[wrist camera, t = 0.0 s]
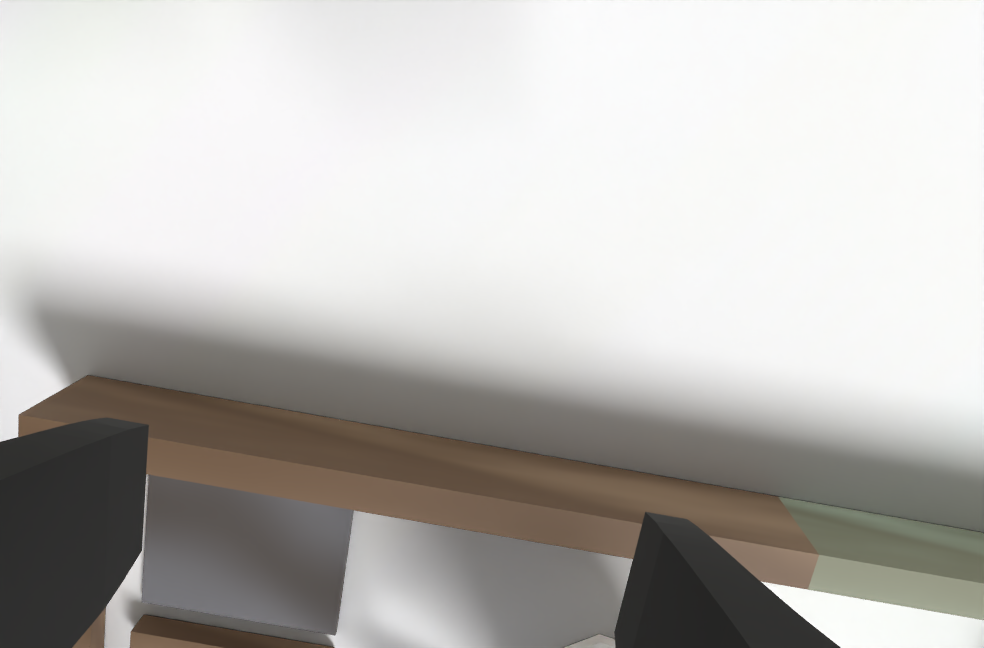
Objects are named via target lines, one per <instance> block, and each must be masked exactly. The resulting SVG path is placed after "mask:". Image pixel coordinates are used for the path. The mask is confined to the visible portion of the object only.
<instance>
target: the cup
mask: <svg viewBox="0 0 984 648" xmlns="http://www.w3.org/2000/svg"><path fill="white" fill-rule="evenodd" d="M564 648H615V639H612V638H609V637H606V636H603V635H600V634H598V635H596V636H593V637H591V638H588V639H585V640H583V641H580V642H577V643H575V644H572V645H569V646H567V647H564Z"/></svg>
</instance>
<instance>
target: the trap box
mask: <svg viewBox="0 0 984 648" xmlns="http://www.w3.org/2000/svg"><path fill="white" fill-rule="evenodd" d="M106 417H108V418H113V419H119V420H125V421H130V422H136V423H142V424H147V425H149V433H148V450H147V468H146V474H149V486H148V503H147V520H146V537H145V554H144V571H143V588H142V602H144V603H150V604H156V605H161V606H167V607H173V608H179V609H185V610H190V611H196V612H202V613H208V614H214V615H219V616H225V617H231V618H237V619H243V620H248V621H254V622H260V623H266V624H272V625H278V626H283V627H289V628H295V629H301V630H307V631H312V632H318V633H324V634H330V635H336V632H337V626H338V619H339V611H340V604H341V597H342V590H343V583H344V576H345V569H346V561H347V554H348V547H349V540H350V533H351V526H352V519H353V511H354V510H355V511H361V512H367V513H372V514H378V515H384V516H390V517H395V518H401V519H407V520H412V521H418V522H424V523H430V524H435V525H441V526H447V527H453V528H458V529H464V530H470V531H476V532H481V533H487V534H493V535H498V536H504V537H510V538H516V539H521V540H527V541H533V542H539V543H544V544H550V545H556V546H562V547H567V548H573V549H579V550H584V551H590V552H596V553H602V554H607V555H613V556H619V557H625V558H630V559H633V558H634V554H635V550H636V546H637V542H638V538H639V534H640V530H641V527H642V523H643V519H644V515H645V512H650V513H655V514H661V515H667V516H673V517H678V518H684V519H688V520H689V521H691V522H692V523H694V524H695V525H696V526H698V527H699V528H700V529H701V530H703V531H704V532H705V533H706V534H707V535H709V536H710V537H711V538H712V539H713V540H714V541H716V542H717V543H718V544H719V545H720V546H721V547H722V548H723V549H725V550H726V551H727V552H728V553H729V554H730V555H731V556H732V557H734V558H735V559H736V560H737V561H738V562H739V563H740V564H741V565H742V566H744V567H745V568H746V569H747V570H748V571H749V572H750V573H751V574H753V575H754V576H755V577H756V578H757V579H758V580H759V581H762V582H768V583H774V584H779V585H785V586H791V587H797V588H802V589H808V590H814V591H820V592H825V593H831V594H837V595H843V596H848V597H854V598H860V599H865V600H871V601H877V602H883V603H888V604H894V605H900V606H906V607H911V608H917V609H923V610H929V611H934V612H940V613H946V614H951V615H957V616H963V617H969V618H974V619H980V620H984V533H982V532H977V531H971V530H965V529H960V528H954V527H948V526H943V525H937V524H931V523H925V522H920V521H914V520H908V519H903V518H897V517H891V516H886V515H880V514H874V513H869V512H863V511H857V510H852V509H846V508H840V507H834V506H829V505H823V504H817V503H812V502H806V501H800V500H795V499H789V498H783V497H778V496H772V495H766V494H761V493H755V492H749V491H743V490H738V489H732V488H726V487H721V486H715V485H709V484H704V483H698V482H692V481H687V480H681V479H675V478H670V477H664V476H658V475H653V474H647V473H641V472H635V471H630V470H624V469H618V468H613V467H607V466H601V465H596V464H590V463H584V462H579V461H573V460H567V459H562V458H556V457H550V456H544V455H539V454H533V453H527V452H522V451H516V450H510V449H505V448H499V447H493V446H488V445H482V444H476V443H471V442H465V441H459V440H453V439H448V438H442V437H436V436H431V435H425V434H419V433H414V432H408V431H402V430H397V429H391V428H385V427H380V426H374V425H368V424H363V423H357V422H351V421H345V420H340V419H334V418H328V417H323V416H317V415H311V414H306V413H300V412H294V411H289V410H283V409H277V408H272V407H266V406H260V405H254V404H249V403H243V402H237V401H232V400H226V399H220V398H215V397H209V396H203V395H198V394H192V393H186V392H181V391H175V390H169V389H164V388H158V387H152V386H146V385H141V384H135V383H129V382H124V381H118V380H112V379H107V378H101V377H95V376H90V375H87V376H85V377H84V378H82V379H80V380H78V381H77V382H75V383H73V384H71V385H70V386H68V387H66V388H64V389H63V390H61V391H59V392H57V393H56V394H54V395H52V396H50V397H49V398H47V399H45V400H43V401H42V402H40V403H38V404H36V405H35V406H33V407H31V408H29V409H28V410H26V411H24V412H22V413H21V414H19V432H18V437H21V436H25V435H28V434H32V433H36V432H40V431H44V430H47V429H51V428H55V427H59V426H63V425H67V424H72V423H76V422H81V421H86V420H91V419H98V418H106ZM105 611H106V607H105V609H104V610H103V611H102V613H101V614H100V615H99V616H98V617H97V619H96V620H95V621H94V622H93V624H92V625H91V626H90V627H89V628H88V629H87V631H86V632H85V633H84V634H83V635H82V637H81V638H80V639H79V640H78V641H77V642H76V644H75V645H74V646H73V647H72V648H104V633H105ZM130 648H334V647H329V646H323V645H318V644H312V643H306V642H300V641H294V640H289V639H283V638H277V637H271V636H265V635H260V634H254V633H248V632H242V631H236V630H230V629H225V628H219V627H213V626H207V625H201V624H196V623H190V622H184V621H178V620H172V619H167V618H161V617H155V616H149V615H143V616H142V618H141V619H140V620H139V622H138V623H137V624H136V625H135V627H134V628H133V629H132V631H131V638H130Z"/></svg>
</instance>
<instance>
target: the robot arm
mask: <svg viewBox="0 0 984 648" xmlns="http://www.w3.org/2000/svg"><path fill="white" fill-rule="evenodd" d="M148 433H149V425H147V424H142V423H136V422H130V421H125V420H119V419H113V418H108V417H106V418H98V419H91V420H86V421H81V422H76V423H72V424H67V425H63V426H59V427H55V428H51V429H47V430H44V431H40V432H36V433H32V434H28V435H25V436H21V437H17V438H14V439H10V440H6V441H2V442H0V648H72V647H73V646H74V645H75V644H76V642H77V641H78V640H79V639H80V638H81V637H82V635H83V634H84V633H85V632H86V631H87V629H88V628H89V627H90V626H91V625H92V624H93V622H94V621H95V620H96V619H97V617H98V616H99V615H100V614H101V613H102V611H103V610H104V609H105V607H106V606H107V604H108V603H109V601H110V600H111V598H112V597H113V595H114V594H115V592H116V591H117V589H118V588H119V586H120V585H121V583H122V582H123V580H124V578H125V577H126V575H127V574H128V572H129V570H130V569H131V567H132V566H133V564H134V562H135V561H136V559H137V557H138V556H139V554H140V553H141V551H142V537H143V520H144V502H145V485H146V468H147V450H148ZM614 633H615V648H840V647H839V646H838V645H837V644H835V643H834V642H833V641H831V640H830V639H829V638H828V637H826V636H825V635H824V634H823V633H821V632H820V631H819V630H818V629H816V628H815V627H814V626H812V625H811V624H810V623H809V622H807V621H806V620H805V619H804V618H803V617H801V616H800V615H799V614H798V613H797V612H795V611H794V610H793V609H792V608H791V607H789V606H788V605H787V604H786V603H785V602H783V601H782V600H781V599H780V598H779V597H778V596H776V595H775V594H774V593H773V592H772V591H771V590H770V589H768V588H767V587H766V586H765V585H764V584H763V583H762V582H760V581H759V580H758V579H757V578H756V577H755V576H754V575H753V574H751V573H750V572H749V571H748V570H747V569H746V568H745V567H744V566H742V565H741V564H740V563H739V562H738V561H737V560H736V559H735V558H734V557H732V556H731V555H730V554H729V553H728V552H727V551H726V550H725V549H723V548H722V547H721V546H720V545H719V544H718V543H717V542H716V541H714V540H713V539H712V538H711V537H710V536H709V535H707V534H706V533H705V532H704V531H703V530H701V529H700V528H699V527H698V526H696V525H695V524H694V523H692V522H691V521H689V520H688V519H684V518H678V517H673V516H667V515H661V514H655V513H650V512H645V515H644V519H643V523H642V527H641V530H640V534H639V538H638V542H637V546H636V550H635V554H634V558H633V562H632V566H631V570H630V574H629V578H628V581H627V585H626V589H625V593H624V597H623V601H622V605H621V609H620V613H619V617H618V621H617V625H616V629H615V632H614Z"/></svg>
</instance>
